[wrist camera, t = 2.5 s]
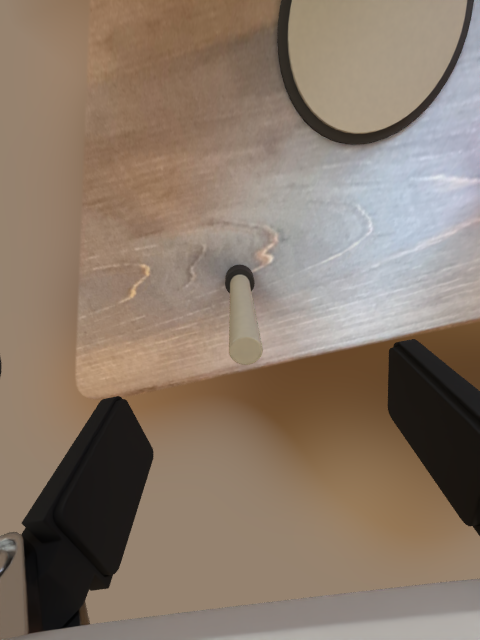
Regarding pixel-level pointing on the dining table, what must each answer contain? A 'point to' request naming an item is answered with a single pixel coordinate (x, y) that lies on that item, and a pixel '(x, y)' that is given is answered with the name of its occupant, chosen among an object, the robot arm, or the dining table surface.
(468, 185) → the dining table surface
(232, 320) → the pen
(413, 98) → the beige coaster disc
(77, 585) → the robot arm
